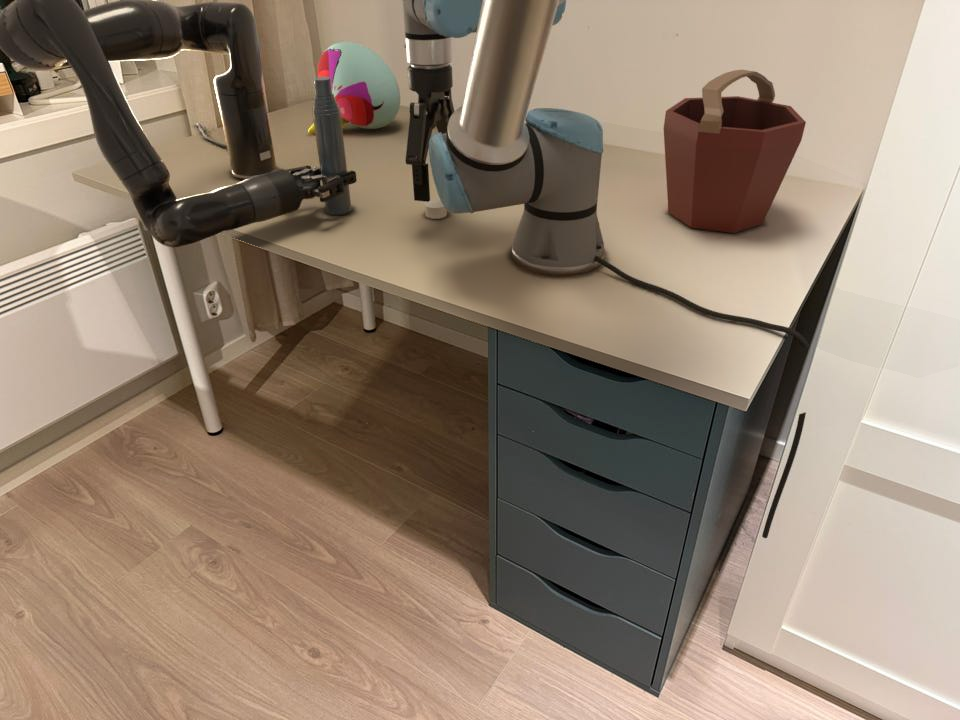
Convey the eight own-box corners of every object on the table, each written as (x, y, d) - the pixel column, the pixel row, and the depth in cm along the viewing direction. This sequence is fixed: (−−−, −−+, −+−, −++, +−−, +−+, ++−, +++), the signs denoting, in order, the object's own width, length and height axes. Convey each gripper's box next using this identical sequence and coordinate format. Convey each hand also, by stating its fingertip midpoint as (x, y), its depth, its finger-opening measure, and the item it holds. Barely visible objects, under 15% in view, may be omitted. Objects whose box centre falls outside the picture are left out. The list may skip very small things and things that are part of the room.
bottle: (324, 207, 136) (306, 76, 123) (349, 204, 138) (334, 74, 124) (327, 216, 132) (309, 82, 119) (353, 213, 134) (338, 80, 120)
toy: (277, 110, 181) (275, 51, 163) (352, 72, 191) (358, 13, 173) (336, 175, 178) (341, 122, 160) (410, 134, 188) (421, 79, 170)
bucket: (710, 250, 119) (740, 96, 105) (622, 208, 134) (638, 69, 120) (804, 218, 129) (843, 75, 115) (713, 183, 145) (736, 53, 131)
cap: (430, 220, 130) (430, 209, 129) (422, 213, 133) (421, 202, 132) (450, 216, 132) (449, 205, 131) (441, 209, 135) (441, 198, 134)
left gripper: (286, 185, 117) (367, 161, 127) (241, 166, 125) (321, 144, 135) (293, 228, 121) (371, 201, 131) (249, 206, 129) (326, 182, 139)
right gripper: (434, 50, 129) (440, 165, 140) (377, 78, 109) (389, 209, 120) (473, 52, 127) (476, 168, 138) (423, 81, 107) (430, 214, 118)
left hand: (345, 172), depth 133 cm, fingers closed on bottle, 5 cm apart
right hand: (435, 187), depth 129 cm, fingers open, 13 cm apart
